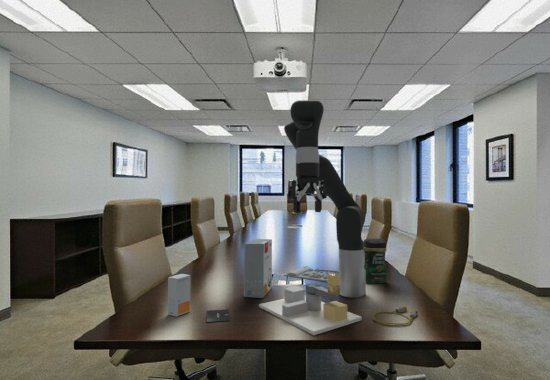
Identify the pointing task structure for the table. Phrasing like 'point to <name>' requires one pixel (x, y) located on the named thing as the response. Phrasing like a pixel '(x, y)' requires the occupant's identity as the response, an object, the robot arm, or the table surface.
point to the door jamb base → (310, 311)
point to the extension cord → (399, 310)
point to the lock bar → (332, 286)
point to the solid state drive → (218, 316)
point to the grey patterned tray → (310, 274)
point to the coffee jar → (375, 260)
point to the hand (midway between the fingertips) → (307, 212)
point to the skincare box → (179, 294)
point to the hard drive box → (257, 267)
